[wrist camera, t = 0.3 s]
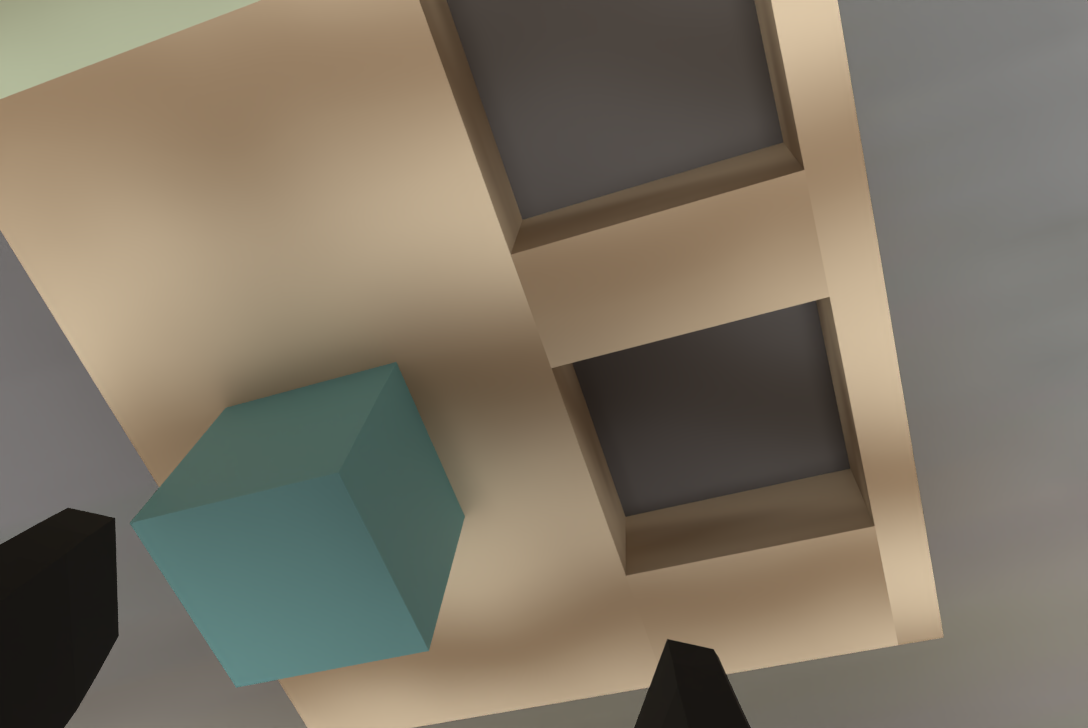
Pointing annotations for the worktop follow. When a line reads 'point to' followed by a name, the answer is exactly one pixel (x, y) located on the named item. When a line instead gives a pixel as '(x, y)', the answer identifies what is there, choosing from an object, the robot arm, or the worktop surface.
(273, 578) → the block
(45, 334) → the worktop surface
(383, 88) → the board
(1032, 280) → the worktop surface
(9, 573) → the robot arm
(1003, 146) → the worktop surface
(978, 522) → the worktop surface
